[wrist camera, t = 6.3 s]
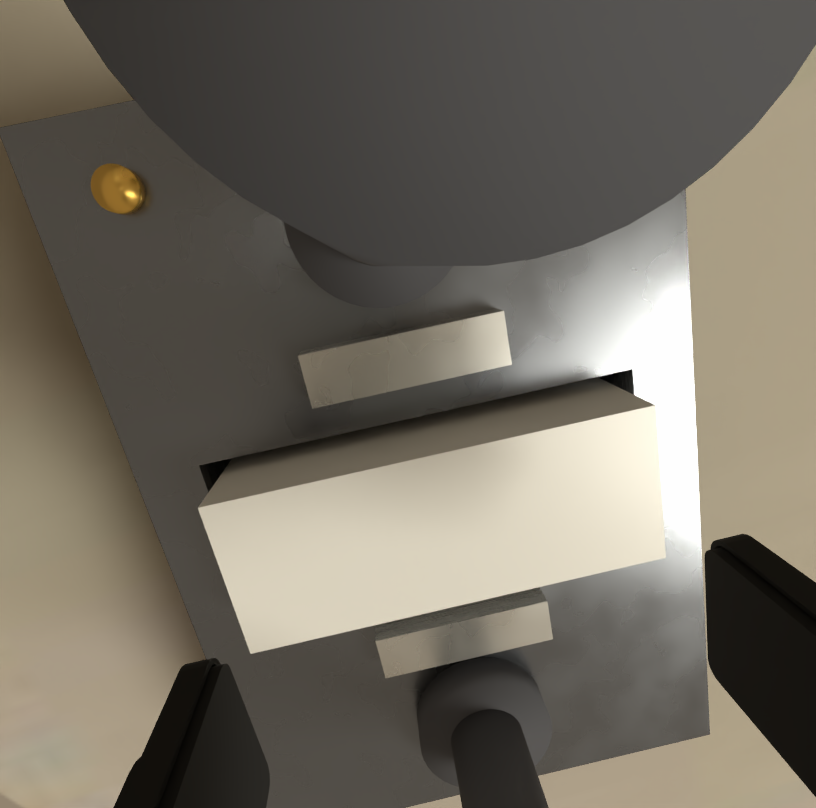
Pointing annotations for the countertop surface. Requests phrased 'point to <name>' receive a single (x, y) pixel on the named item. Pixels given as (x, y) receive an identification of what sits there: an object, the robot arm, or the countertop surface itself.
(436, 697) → the black toggle lever
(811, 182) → the countertop surface
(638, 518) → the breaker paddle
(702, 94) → the dark grey upright post
